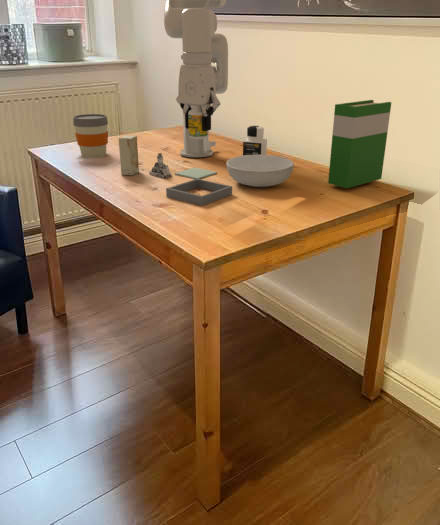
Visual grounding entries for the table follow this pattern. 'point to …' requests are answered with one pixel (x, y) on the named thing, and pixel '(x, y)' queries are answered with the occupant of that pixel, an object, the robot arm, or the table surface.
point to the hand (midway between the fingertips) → (198, 128)
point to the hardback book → (358, 142)
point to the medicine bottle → (255, 141)
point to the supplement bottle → (196, 123)
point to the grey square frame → (181, 194)
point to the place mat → (195, 173)
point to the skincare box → (128, 155)
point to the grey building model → (160, 168)
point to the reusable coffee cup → (91, 134)
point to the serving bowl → (259, 169)
